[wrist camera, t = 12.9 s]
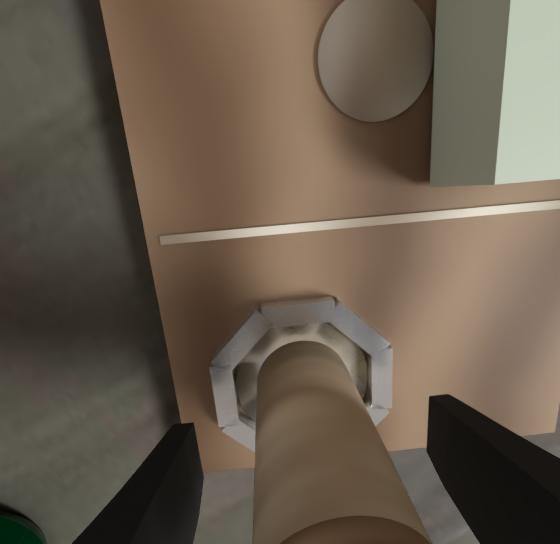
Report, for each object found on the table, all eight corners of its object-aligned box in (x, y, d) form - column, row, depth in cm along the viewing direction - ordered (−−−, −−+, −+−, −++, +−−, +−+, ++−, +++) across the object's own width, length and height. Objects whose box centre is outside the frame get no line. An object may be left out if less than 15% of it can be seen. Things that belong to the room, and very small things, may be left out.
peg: (261, 425, 13) (261, 697, 6) (252, 345, 12) (238, 555, 5) (349, 416, 13) (450, 671, 6) (346, 335, 12) (460, 527, 5)
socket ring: (227, 458, 13) (225, 471, 12) (203, 307, 11) (200, 313, 11) (385, 440, 13) (391, 451, 13) (386, 289, 12) (393, 294, 11)
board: (197, 451, 14) (190, 477, 13) (97, -95, 9) (70, -142, 8) (531, 413, 15) (557, 434, 14) (607, -121, 10) (660, -169, 9)
